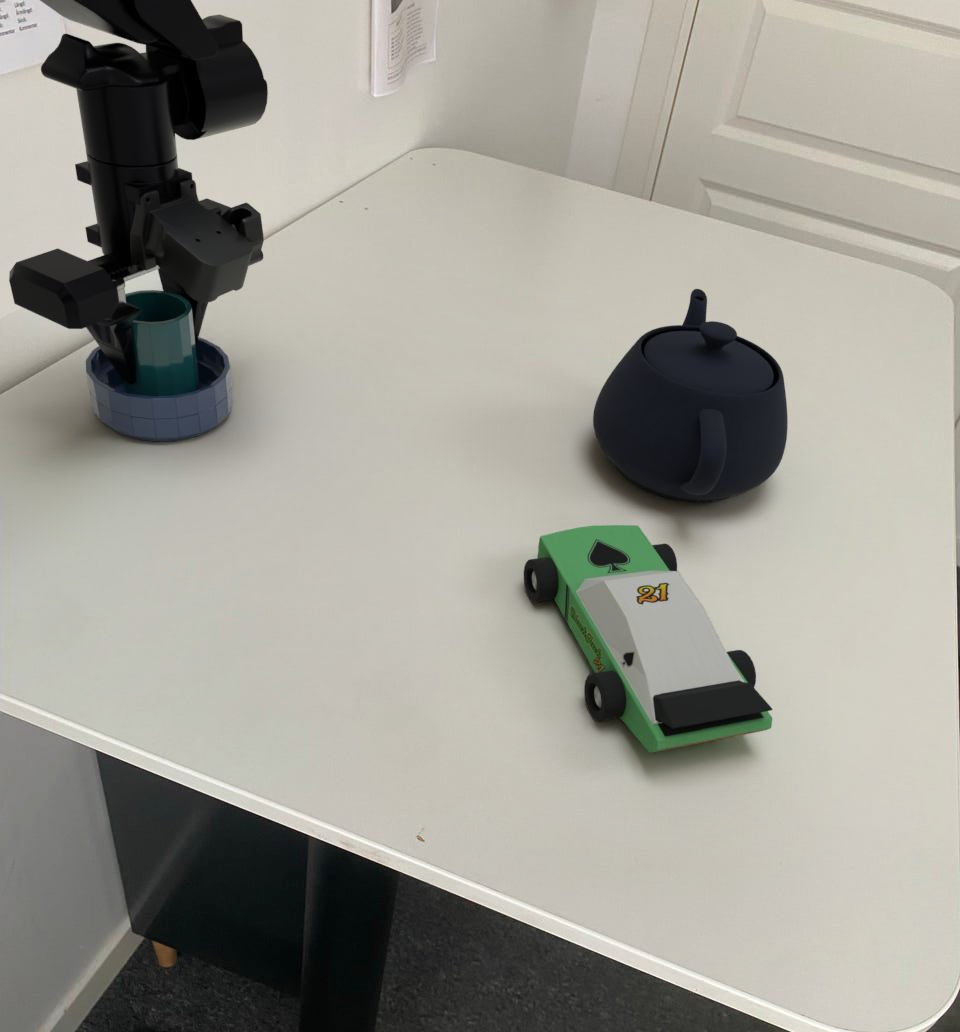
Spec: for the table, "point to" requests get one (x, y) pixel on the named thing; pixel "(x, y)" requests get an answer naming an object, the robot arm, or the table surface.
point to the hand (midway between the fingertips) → (159, 367)
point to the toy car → (645, 639)
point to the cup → (163, 345)
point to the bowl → (162, 399)
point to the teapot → (694, 411)
